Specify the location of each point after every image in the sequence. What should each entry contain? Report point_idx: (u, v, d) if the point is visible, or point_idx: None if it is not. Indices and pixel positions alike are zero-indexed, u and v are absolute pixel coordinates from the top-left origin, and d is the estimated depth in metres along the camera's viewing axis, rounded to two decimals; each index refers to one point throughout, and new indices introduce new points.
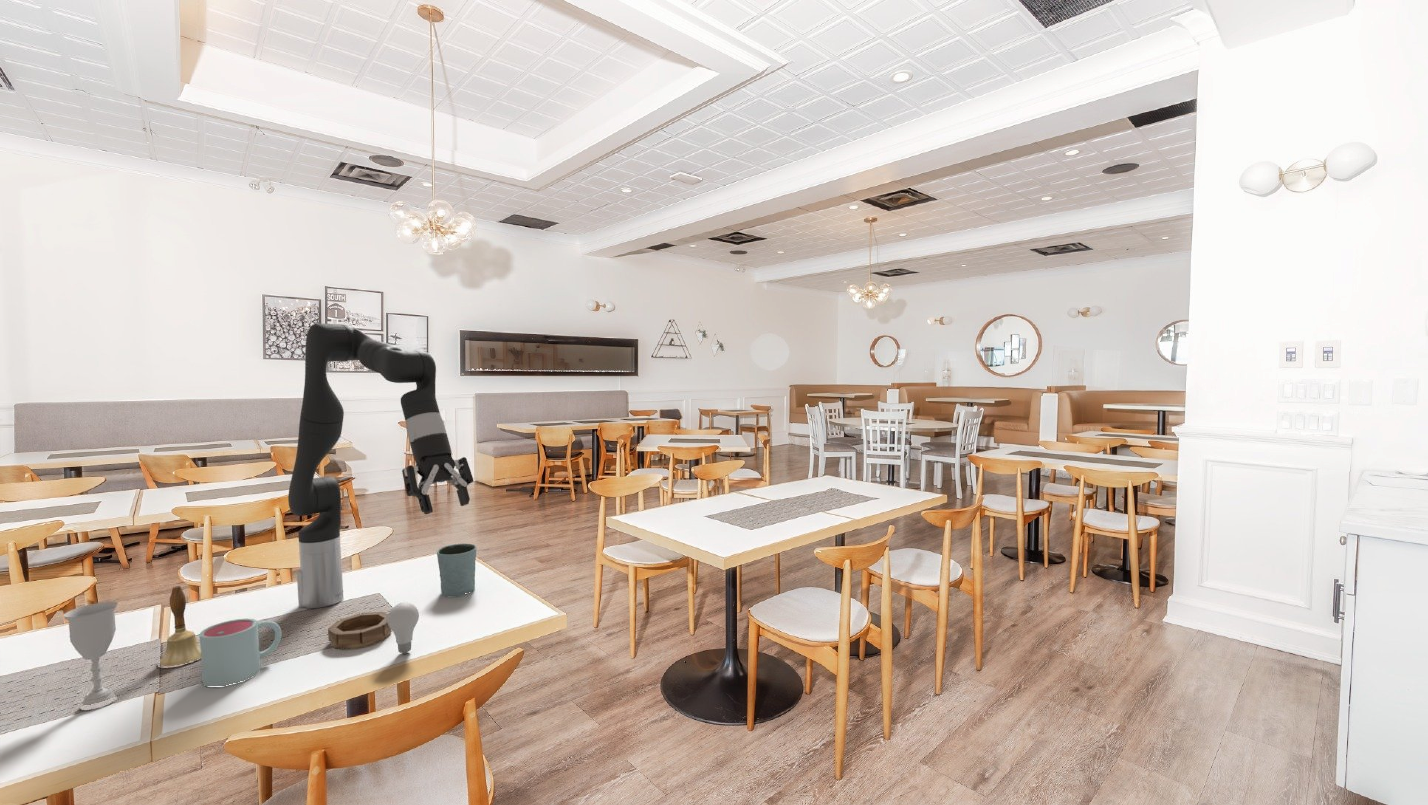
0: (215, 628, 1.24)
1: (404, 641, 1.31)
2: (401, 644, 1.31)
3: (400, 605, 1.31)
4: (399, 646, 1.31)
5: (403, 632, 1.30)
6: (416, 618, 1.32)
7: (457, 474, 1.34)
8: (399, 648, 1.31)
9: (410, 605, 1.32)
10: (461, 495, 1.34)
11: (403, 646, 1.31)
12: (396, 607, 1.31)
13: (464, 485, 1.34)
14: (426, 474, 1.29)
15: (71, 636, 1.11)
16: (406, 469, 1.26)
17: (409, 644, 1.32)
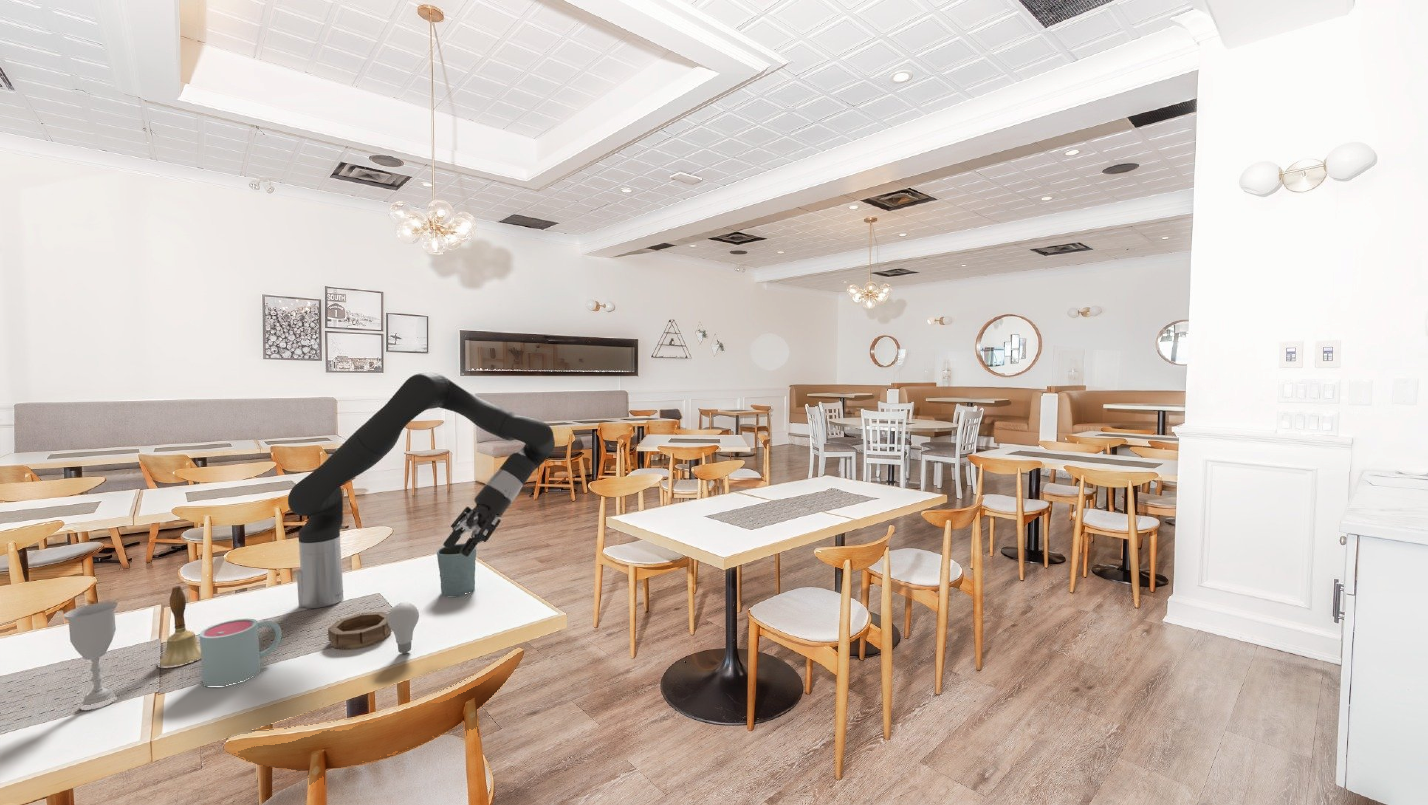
0: (215, 628, 1.24)
1: (404, 641, 1.31)
2: (401, 644, 1.31)
3: (400, 605, 1.31)
4: (399, 646, 1.31)
5: (403, 632, 1.30)
6: (416, 618, 1.32)
7: None
8: (399, 648, 1.31)
9: (410, 605, 1.32)
10: (453, 539, 1.44)
11: (403, 646, 1.31)
12: (396, 607, 1.31)
13: None
14: None
15: (71, 636, 1.11)
16: (497, 520, 1.40)
17: (409, 644, 1.32)
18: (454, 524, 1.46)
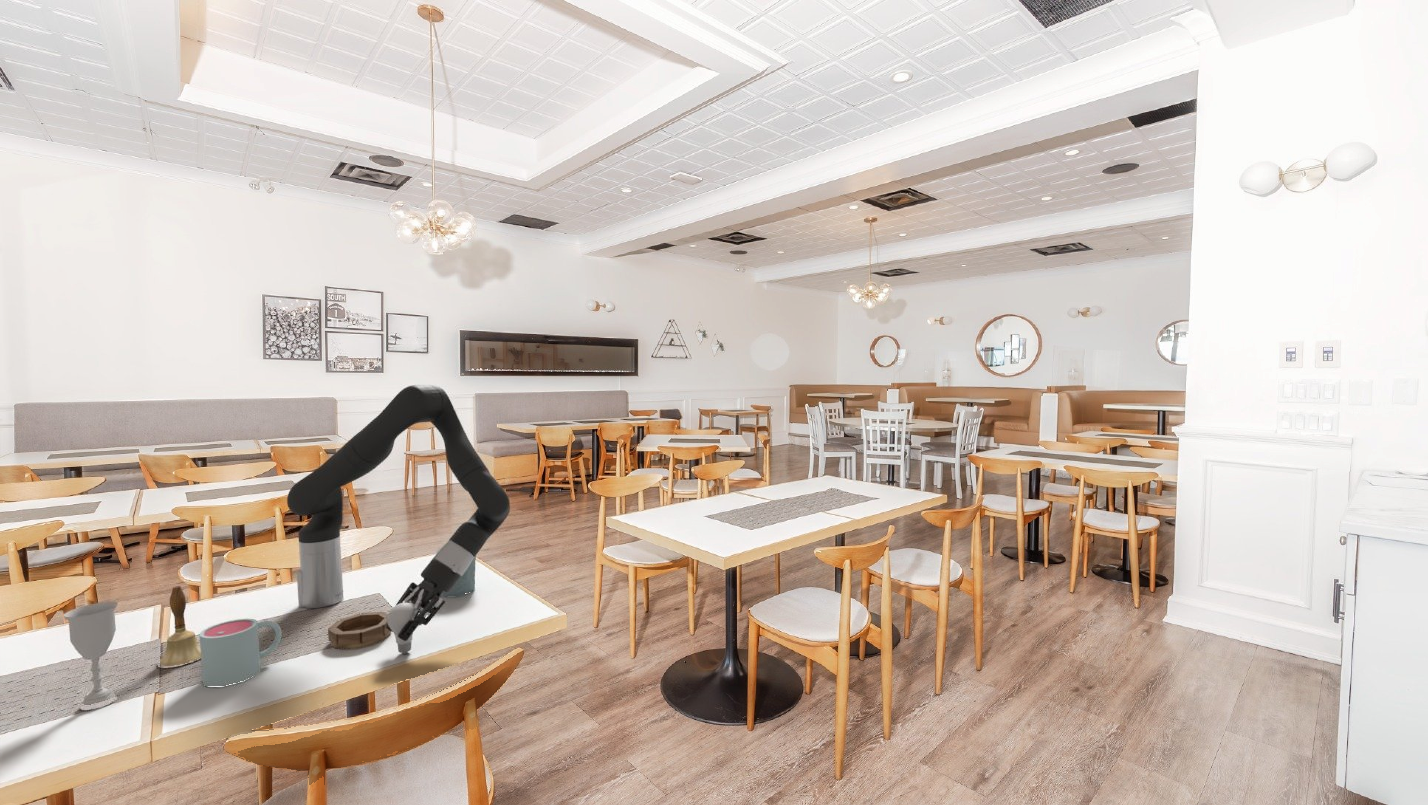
0: (215, 628, 1.24)
1: (404, 641, 1.31)
2: (401, 644, 1.31)
3: (400, 605, 1.31)
4: (399, 646, 1.31)
5: None
6: None
7: None
8: (399, 648, 1.31)
9: (410, 605, 1.32)
10: None
11: (403, 646, 1.31)
12: (396, 607, 1.31)
13: None
14: None
15: (71, 636, 1.11)
16: (441, 603, 1.31)
17: (408, 644, 1.32)
18: (399, 603, 1.36)
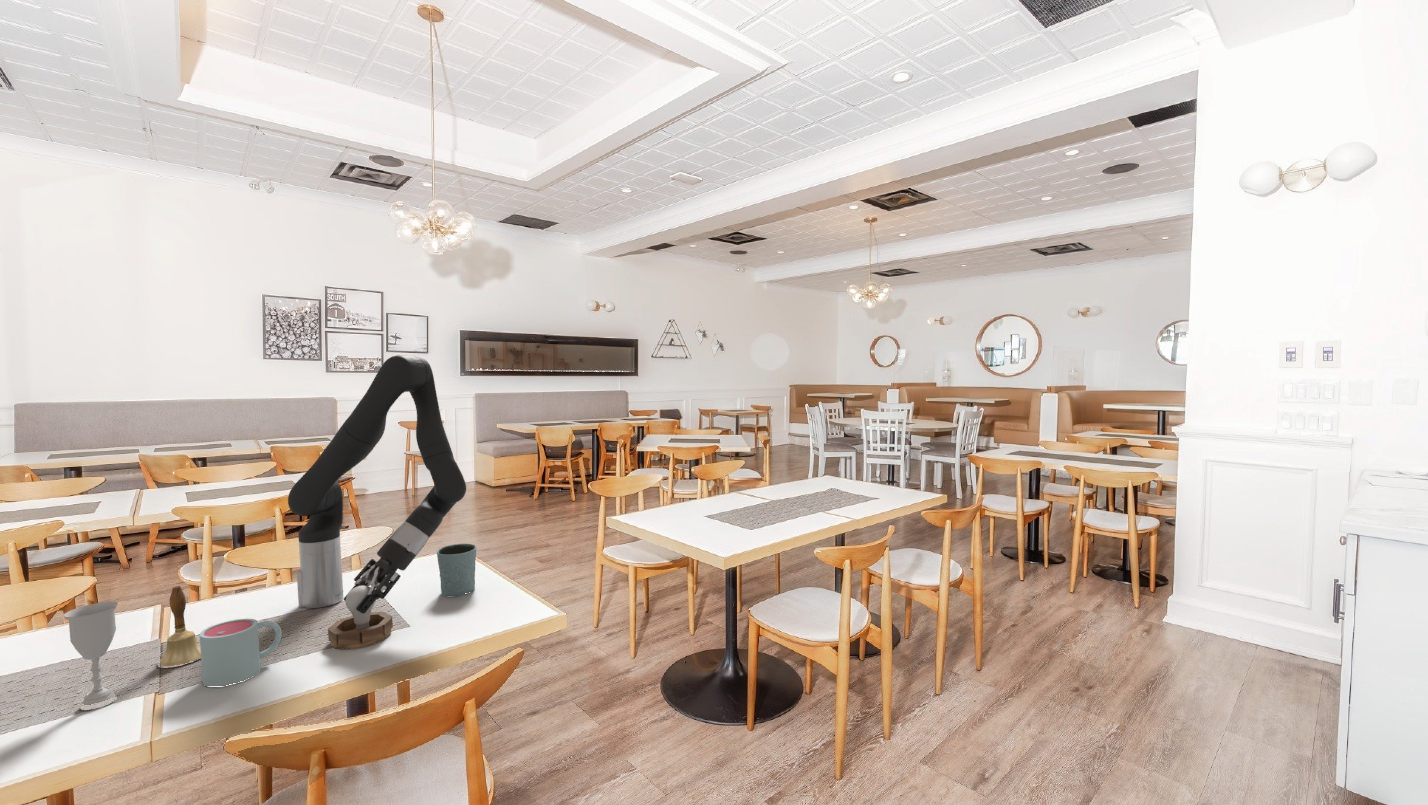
0: (215, 628, 1.24)
1: (362, 621, 1.39)
2: (359, 624, 1.40)
3: (358, 588, 1.40)
4: (357, 626, 1.40)
5: (360, 613, 1.39)
6: None
7: None
8: (357, 628, 1.40)
9: (367, 588, 1.40)
10: None
11: (361, 626, 1.40)
12: (354, 589, 1.39)
13: None
14: None
15: (71, 636, 1.11)
16: (397, 576, 1.40)
17: (366, 624, 1.40)
18: (357, 577, 1.45)
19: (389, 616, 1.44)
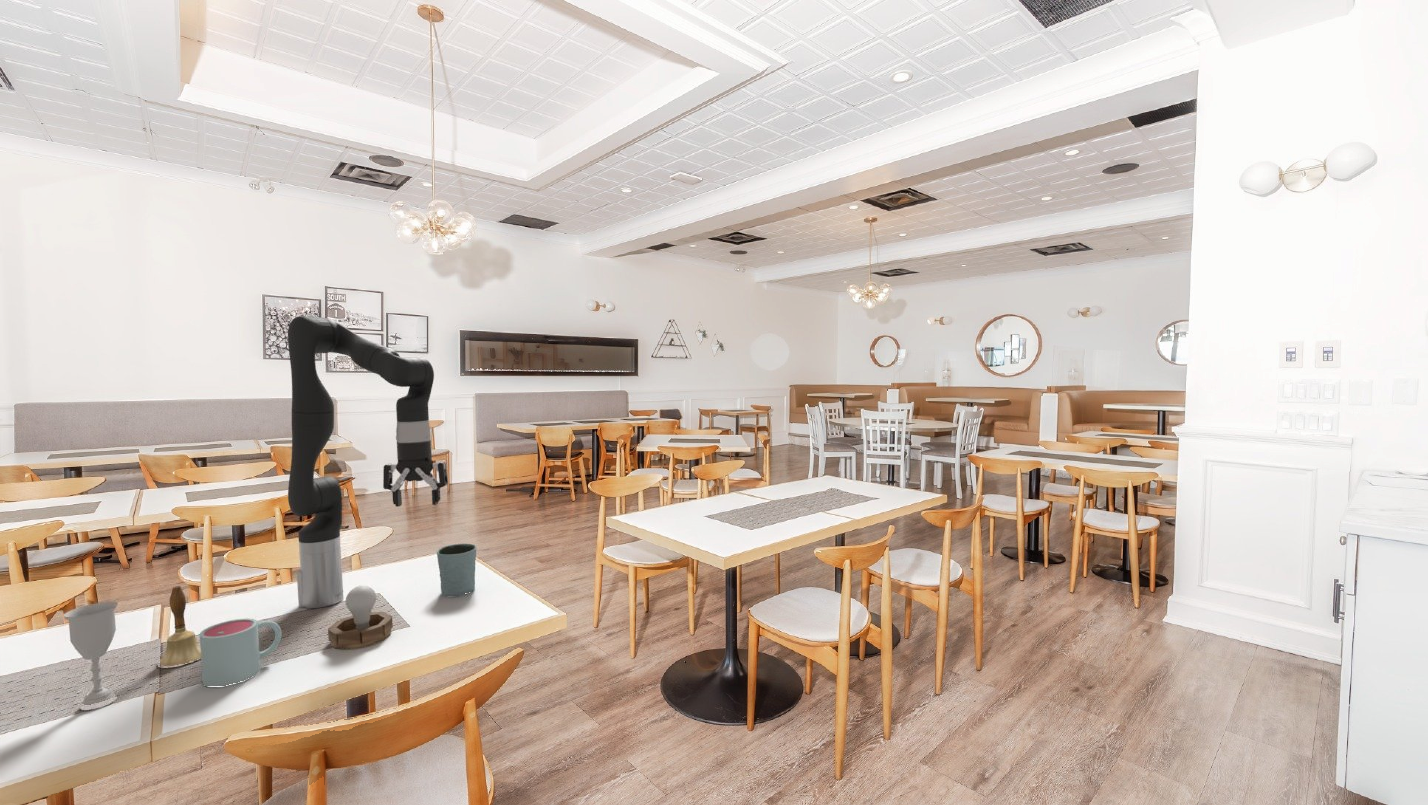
0: (215, 628, 1.24)
1: (362, 621, 1.39)
2: (359, 624, 1.40)
3: (358, 588, 1.40)
4: (357, 626, 1.40)
5: (360, 613, 1.39)
6: (373, 600, 1.40)
7: (427, 478, 1.49)
8: (357, 628, 1.40)
9: (367, 588, 1.40)
10: None
11: (361, 626, 1.40)
12: (354, 589, 1.39)
13: (434, 488, 1.50)
14: None
15: (71, 636, 1.11)
16: None
17: (366, 624, 1.40)
18: None
19: (389, 616, 1.44)
